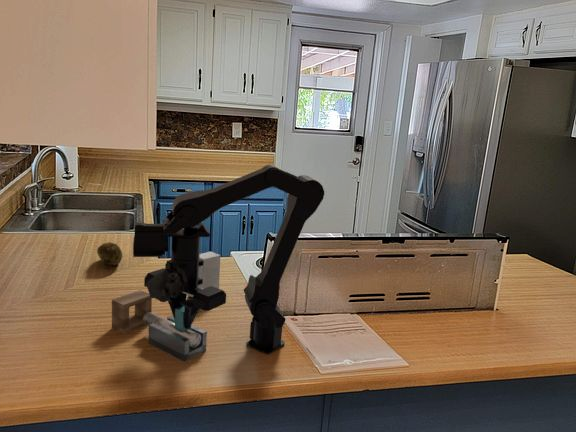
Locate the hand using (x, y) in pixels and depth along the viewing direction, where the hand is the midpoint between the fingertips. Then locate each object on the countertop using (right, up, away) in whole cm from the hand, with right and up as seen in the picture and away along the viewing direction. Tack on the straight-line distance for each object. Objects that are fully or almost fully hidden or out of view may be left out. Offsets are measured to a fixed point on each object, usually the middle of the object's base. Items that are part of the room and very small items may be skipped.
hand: (182, 325), depth 104 cm
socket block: (-14, -2, +10) cm, 17 cm away
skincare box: (0, +1, +29) cm, 29 cm away
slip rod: (-3, -3, +3) cm, 5 cm away
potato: (-32, +8, +47) cm, 57 cm away
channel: (-2, -5, +2) cm, 6 cm away
